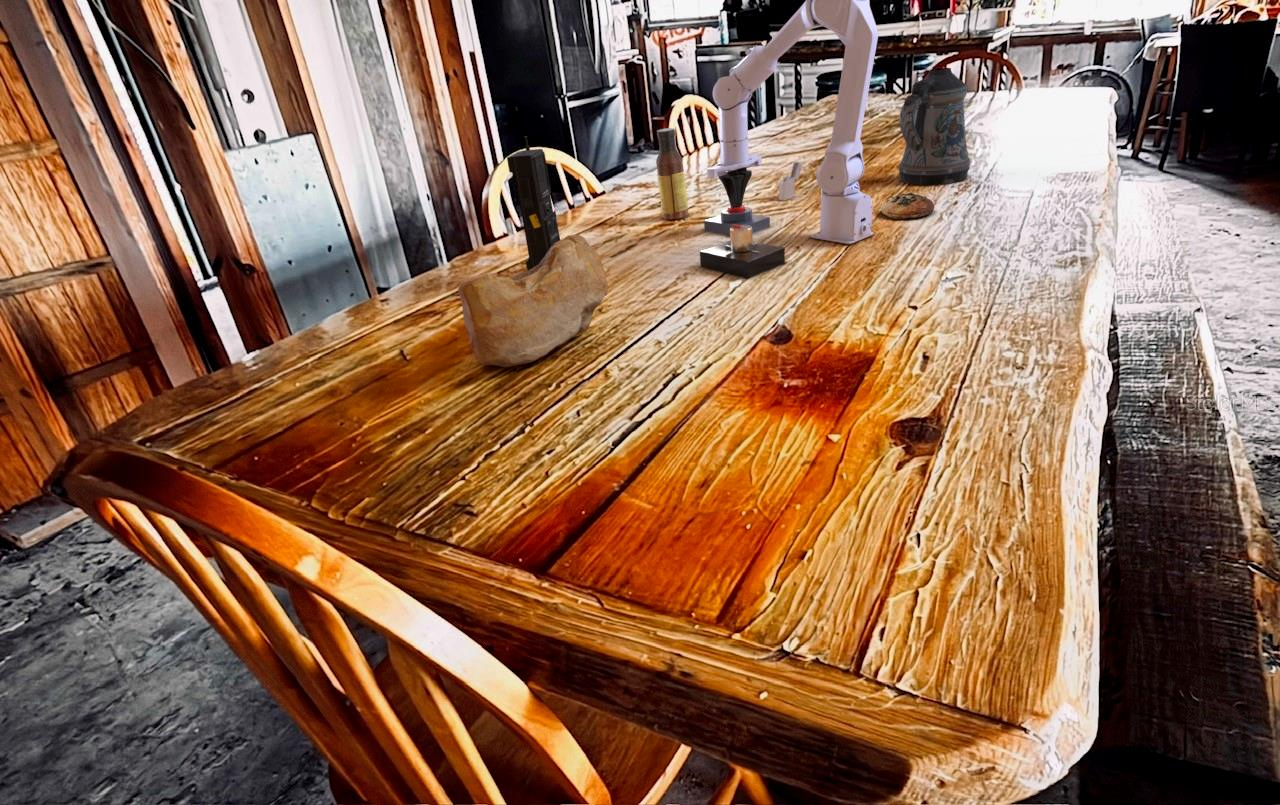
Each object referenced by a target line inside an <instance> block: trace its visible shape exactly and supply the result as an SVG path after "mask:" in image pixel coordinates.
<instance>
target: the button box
mask: <svg viewBox="0 0 1280 805" xmlns="http://www.w3.org/2000/svg"><path fill="white" fill-rule="evenodd" d="M734 224H735V225H750V226H752V234H755V233H758V232H760V231H764V230H766V229H769V228H770V227H771V217H770V216H765V215H758V214H753V209H752V208H751V207H748V206H745V211H744V212H740V213H728V207H726V208H723V209H721V211H720V214H719V215H717V216H713V217H710V218H708V219H704V220H703V227H704V228H703V229H704V231H705V232H712V233H717V234H722V235H727V236H730V228H731V227H732V225H734Z"/></svg>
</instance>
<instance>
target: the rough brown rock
mask: <svg viewBox="0 0 1280 805" xmlns="http://www.w3.org/2000/svg"><path fill="white" fill-rule="evenodd" d="M457 291H458V294H459V298H460V302H461V307H462V316H463V317H462V318H463V322H464V327H465V330H466V332H467V336H468V339H469V344H470V345H471V348H472V351H473V355H474V357H475V359H476V360H477V361H478V362H479V363H480V364H481V365H483V366H497V367H503V368H511V367H515V366H518V365H524V364H530V363H533V362H535V361H537V360H539V359H541V358H542V357H545V356H546V355H548V353H550V352H551V351H553V350H554V349H555V348H557V347H559V346H561V345H563V344H565V343H567V342H568V341H569V340H570V339H572V338H575V337H579V336H582V335H583V334H585V333H586V332H587V331H588V330H589V328H590V326H591V323H592V320H593V316H594V312H595V310H596V309H597V308H598V307H599V306H600V305H602V303H603V301H604V298H605V297H606V296H607V295H608V291H609V283H608V281H607V274H606V271H605V268H604V266H603V263H602V260H601V256H600V255H599V253H598V252H597V250H596V249H595V248H594V247H593V246H592V245H590V244H589V242H588V241H587V239H586V238H585V237H584V236H582V235H580V234H569V235H567V236H565V237H563V238H562V239H561V238H560V241H558V242H556V243H555V244H554V245H553V246H552V247H550V249H549V251H548V252H547V254H546V255H545V257H544V258H543V259H542V260H541V262H540V263H539V264H538V265H537V266H535V267H534V268H532V269H530V270H528V271H527V270H526V271H522V272H519V273H515V274H513V275H512V276H509V277H502V276H498V275H495V274H493V273H485V274H480V275H475V276H472V277H468V278H466V279H464V280H462V281H461V282H460V283H459V285H458V288H457Z"/></svg>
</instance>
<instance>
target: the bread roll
mask: <svg viewBox="0 0 1280 805" xmlns="http://www.w3.org/2000/svg"><path fill="white" fill-rule="evenodd" d="M880 210H881V212H882V213H881V214H882V215H885V216H887V217H888V218H891V219H896V220H906V219H909V218H912V219H913V218H916V219H917V218H920V217H925V216H929V215H931V214H932V213H933V212H934V211H935V203H934V202H933V201H932V200H931V199H930V198H928V197H926V195H919V194H917V193H916V194H915V193H913V192H907V193H901V194H899V195H893V196H891V197H890V198H888V199H886V200H885V201H884V202H883V203H882V205H881V206H880Z"/></svg>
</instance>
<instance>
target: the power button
mask: <svg viewBox="0 0 1280 805" xmlns="http://www.w3.org/2000/svg"><path fill="white" fill-rule="evenodd" d="M745 207H746V206H745V204H742V206H741V207H738V208H737V207H731V205H730V204H729V205H728V206H727V208H728V213H740V212H744V211H745Z"/></svg>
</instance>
